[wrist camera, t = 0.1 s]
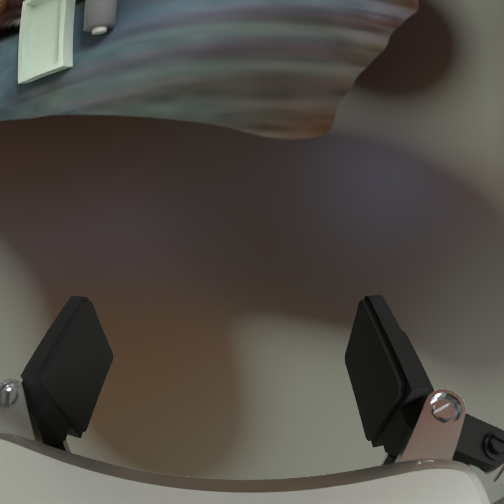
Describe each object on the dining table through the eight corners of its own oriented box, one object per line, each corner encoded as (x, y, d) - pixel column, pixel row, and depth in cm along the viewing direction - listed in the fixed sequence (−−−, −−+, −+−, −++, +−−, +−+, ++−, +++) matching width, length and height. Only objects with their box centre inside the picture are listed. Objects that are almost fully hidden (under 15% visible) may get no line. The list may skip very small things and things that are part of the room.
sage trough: (32, 4, 23) (23, 1, 20) (77, -17, 23) (69, -21, 20) (28, 82, 30) (18, 83, 27) (72, 66, 30) (62, 66, 27)
